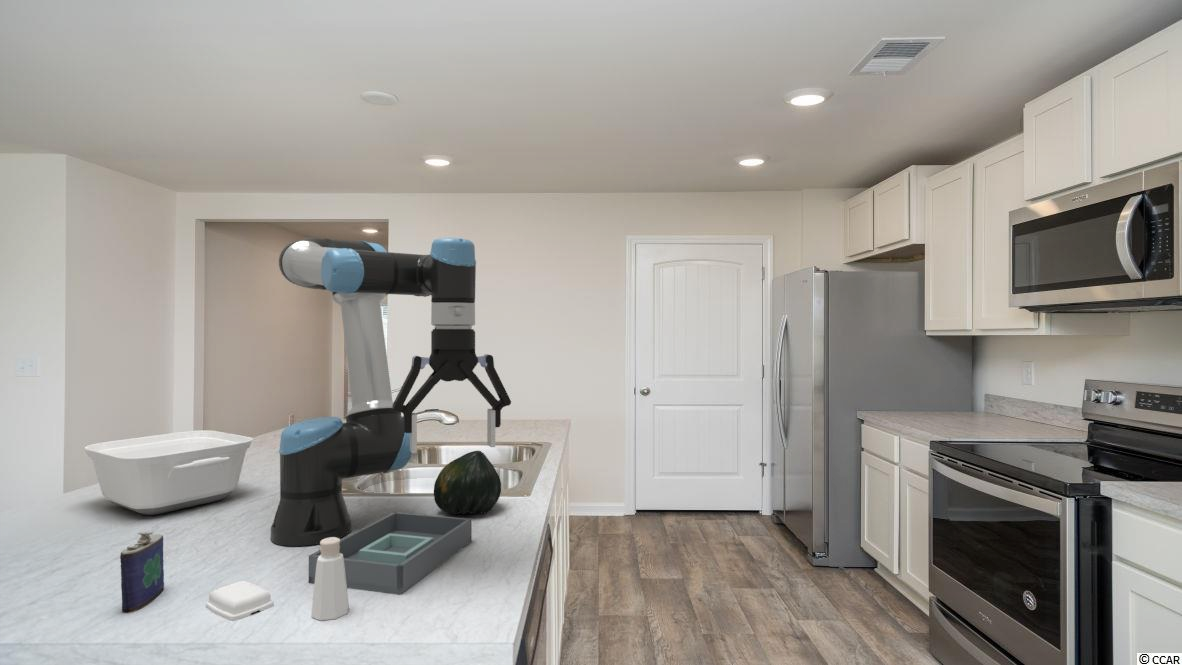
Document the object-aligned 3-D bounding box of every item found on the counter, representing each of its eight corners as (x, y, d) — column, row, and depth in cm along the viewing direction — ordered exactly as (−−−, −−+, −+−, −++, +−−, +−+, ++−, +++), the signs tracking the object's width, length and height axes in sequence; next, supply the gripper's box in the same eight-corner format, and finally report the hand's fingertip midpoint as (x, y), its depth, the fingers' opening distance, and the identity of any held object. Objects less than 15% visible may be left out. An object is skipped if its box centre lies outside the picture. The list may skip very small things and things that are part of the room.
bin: (308, 582, 105) (308, 555, 105) (394, 533, 129) (394, 512, 129) (400, 594, 100) (400, 566, 100) (471, 541, 125) (471, 518, 125)
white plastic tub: (269, 500, 154) (269, 440, 154) (136, 532, 130) (135, 461, 130) (199, 481, 172) (199, 427, 172) (71, 506, 148) (70, 444, 148)
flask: (151, 588, 102) (150, 523, 102) (170, 587, 103) (170, 522, 103) (116, 614, 93) (116, 542, 93) (138, 613, 94) (137, 541, 94)
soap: (202, 609, 96) (202, 590, 96) (247, 593, 101) (247, 575, 101) (231, 624, 91) (231, 605, 91) (277, 607, 96) (277, 588, 96)
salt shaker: (306, 611, 94) (306, 538, 94) (343, 601, 98) (343, 531, 97) (315, 624, 90) (315, 548, 90) (354, 614, 93) (354, 540, 93)
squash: (420, 484, 148) (440, 443, 140) (476, 477, 157) (498, 438, 149) (438, 536, 139) (460, 495, 132) (496, 525, 149) (521, 487, 141)
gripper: (380, 327, 101) (380, 458, 101) (528, 328, 111) (527, 447, 111) (376, 327, 108) (376, 450, 108) (515, 327, 118) (515, 439, 118)
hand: (453, 448), depth 110 cm, fingers open, 13 cm apart
